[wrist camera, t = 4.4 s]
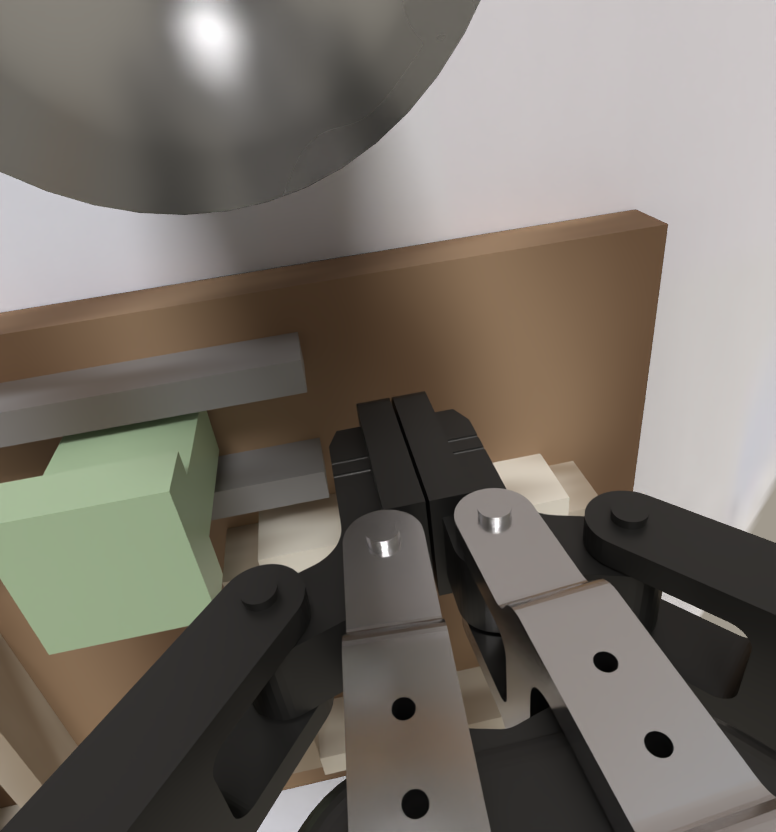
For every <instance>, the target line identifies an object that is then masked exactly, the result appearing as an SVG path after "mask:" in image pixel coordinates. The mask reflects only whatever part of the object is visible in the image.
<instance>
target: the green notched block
mask: <svg viewBox="0 0 776 832" xmlns="http://www.w3.org/2000/svg"><path fill="white" fill-rule="evenodd" d="M218 457H219V448H218V445H217V442H216V439H215V435H214V432H213V429H212V426H211V423H210V420H209V417H208V413H207V411H201V412H196V413H190V414H185V415H179V416H173V417H168V418H162V419H157V420H151V421H146V422H140V423H135V424H129V425H123V426H118V427H112V428H107V429H101V430H96V431H90V432H85V433H79V434H73V435H68V436H63V437H62V439H61V441H60V443H59V445H58V447H57V449H56V451H55V453H54V455H53V457H52V459H51V461H50V463H49V465H48V466H47V468H46V470H45V472H44V474H43V476H38V477H32V478H27V479H21V480H16V481H11V482H5V483H0V579H1V581H2V582H3V584H4V585H5V587H6V589H7V590H8V592H9V593H10V595H11V596H12V598H13V599H14V601H15V603H16V604H17V606H18V607H19V609H20V610H21V612H22V614H23V615H24V617H25V618H26V620H27V621H28V623H29V624H30V626H31V628H32V629H33V631H34V632H35V634H36V635H37V637H38V638H39V640H40V642H41V643H42V645H43V646H44V648H45V649H46V651H47V652H48V654H49V655H51V654H56V653H61V652H66V651H70V650H75V649H80V648H85V647H90V646H94V645H99V644H104V643H109V642H114V641H118V640H123V639H128V638H133V637H138V636H142V635H147V634H152V633H157V632H162V631H167V630H171V629H176V628H181V627H186V626H189V625H190V624H191V623H192V622H193V621H194V620H195V618H196V617H197V616H198V615H199V614H200V613H201V612H202V611H203V610H204V609H205V608H206V606H207V605H208V604H209V603H210V602H211V601H212V600H213V599H214V598H215V597H216V596H217V595H218V593H219V592H220V591H221V590H222V579H223V573H222V570H221V568H220V565H219V562H218V559H217V557H216V554H215V551H214V548H213V546H212V543H211V540H210V537H209V534H210V525H211V517H212V508H213V500H214V491H215V483H216V474H217V466H218Z"/></svg>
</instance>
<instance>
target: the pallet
mask: <svg viewBox="0 0 776 832" xmlns="http://www.w3.org/2000/svg"><path fill="white" fill-rule="evenodd" d="M667 228H668V224H667V223H664V222H662V221H660V220H658V219H656V218H653V217H651V216H649V215H647V214H645V213H642V212H640V211H638V210H630V211H624V212H617V213H611V214H605V215H599V216H593V217H587V218H581V219H574V220H568V221H562V222H556V223H550V224H544V225H537V226H531V227H525V228H519V229H513V230H507V231H501V232H494V233H488V234H482V235H476V236H470V237H464V238H458V239H451V240H445V241H439V242H433V243H427V244H421V245H415V246H408V247H402V248H396V249H390V250H384V251H378V252H371V253H365V254H359V255H353V256H347V257H341V258H335V259H328V260H322V261H316V262H310V263H304V264H298V265H292V266H285V267H279V268H273V269H267V270H261V271H255V272H249V273H242V274H236V275H230V276H224V277H218V278H212V279H205V280H199V281H193V282H187V283H181V284H175V285H169V286H162V287H156V288H150V289H144V290H138V291H132V292H126V293H119V294H113V295H107V296H101V297H95V298H89V299H83V300H76V301H70V302H64V303H58V304H52V305H46V306H40V307H33V308H27V309H21V310H15V311H9V312H3V313H0V483H5V482H11V481H16V480H21V479H27V478H32V477H38V476H43V474H44V472H45V470H46V468H47V466H48V465H49V463H50V461H51V459H52V457H53V455H54V453H55V451H56V449H57V447H58V445H59V443H60V441H61V439H62V437H63V436H68V435H73V434H79V433H85V432H90V431H96V430H101V429H107V428H112V427H118V426H123V425H129V424H135V423H140V422H146V421H151V420H157V419H162V418H168V417H173V416H179V415H185V414H190V413H196V412H201V411H207V413H208V417H209V420H210V423H211V426H212V429H213V432H214V435H215V439H216V442H217V445H218V448H219V457H218V466H217V474H216V483H215V491H214V500H213V508H212V517H211V525H210V534H209V537H210V540H211V543H212V546H213V548H214V551H215V554H216V557H217V559H218V562H219V565H220V568H221V570H222V573H223V579H222V589H223V588H224V587H225V586H226V585H227V584H228V583H229V582H230V581H231V580H232V579H233V578H234V577H236V576H237V575H238V574H240V573H242V572H244V571H246V570H248V569H250V568H253V567H256V566H259V565H265V564H280V565H284V566H288V567H290V568H292V569H294V570H295V571H296V572H298V573H299V572H301V571H303V570H305V569H307V568H309V567H311V566H313V565H315V564H317V563H319V562H320V561H322V560H323V559H324V558H326V557H327V556H328V555H329V554H330V553H331V552H332V551H333V549H334V548H335V547H336V545H337V544H338V542H339V539H340V536H341V522H340V516H339V509H338V503H337V496H336V490H335V483H334V477H333V471H332V464H331V458H330V451H329V445H330V443H331V441H332V439H333V437H334V435H335V433H336V431H339V430H345V429H350V428H355V427H360V426H359V420H358V414H357V407H356V404H358V403H363V402H369V401H374V400H379V399H385V398H390V401H391V398H392V397H396V396H401V395H406V394H412V393H417V392H422V391H425V392H426V394H427V396H428V398H429V401H430V403H431V405H432V407H433V409H434V412H439V411H444V410H450V409H454V410H456V411H457V412H459V413H460V414H462V415H463V416H465V417H466V418H468V419H469V420H470V422H471V424H472V426H473V427H474V429H475V431H476V433H477V436H478V437H479V439H480V441H481V442H482V444H483V446H484V449H485V450H486V452H487V454H488V455H489V457H490V459H491V461H492V463H493V465H494V467H495V468H496V470H497V472H498V474H499V476H500V478H501V480H502V481H503V483H504V485H505V487H506V489H507V490H511V491H514V492H517V493H519V494H521V495H523V496H524V497H526V498H527V499H528V500H529V501H530V502H531V503H532V504H533V506H534V507H535V509H536V510H537V512H539V513H543V514H548V515H564V516H584V515H585V509H586V506H587V505H588V503H589V502H590V501H591V500H592V499H593V498H595V497H596V496H598V495H600V494H603V493H606V492H610V491H633V487H634V479H635V471H636V464H637V456H638V449H639V441H640V433H641V426H642V418H643V411H644V403H645V395H646V388H647V380H648V373H649V365H650V357H651V350H652V342H653V335H654V327H655V319H656V312H657V304H658V297H659V289H660V281H661V274H662V266H663V259H664V251H665V243H666V236H667ZM391 404H392V403H391ZM434 582H435V581H434ZM435 586H436V584H435ZM436 591H437V596H438V601H439V605H440V610H441V615H442V619H445V622H446V625H447V629H448V634H449V638H450V643H451V647H452V652H453V657H454V661H455V666H456V671H457V675H458V680H459V685H460V689H461V694H462V699H463V703H464V708H465V713H466V717H467V722H468V727H469V728H475V729H505V726H504V723H503V720H502V717H501V714H500V712H499V709H498V707H497V705H496V702H495V700H494V698H493V695H492V693H491V691H490V689H489V686H488V684H487V682H486V679H485V677H484V675H483V672H482V670H481V668H480V666H479V663H478V661H477V659H476V656H475V654H474V652H473V650H472V647H471V645H470V643H469V640H468V638H467V636H466V633H465V631H464V628H463V624H462V616H461V614H460V612H459V610H458V607H457V604H456V601H455V598H454V595H453V593H450V594H446V595H441V596H439V593H438V590H437V587H436ZM187 627H188V626H186V627H181V628H176V629H171V630H167V631H162V632H157V633H152V634H147V635H142V636H138V637H133V638H128V639H123V640H118V641H114V642H109V643H104V644H99V645H94V646H90V647H85V648H80V649H75V650H70V651H66V652H61V653H56V654H51V655H49V654H48V652H47V651H46V649H45V648H44V646H43V645H42V643H41V642H40V640H39V638H38V637H37V635H36V634H35V632H34V631H33V629H32V628H31V626H30V624H29V623H28V621H27V620H26V618H25V617H24V615H23V614H22V612H21V610H20V609H19V607H18V606H17V604H16V603H15V601H14V599H13V598H12V596H11V595H10V593H9V592H8V590H7V589H6V587H5V585H4V584H3V582H2V581H1V579H0V831H1V830H2V828H3V827H4V826H5V825H6V824H7V823H8V822H9V821H10V820H11V819H12V818H13V817H14V815H15V814H16V813H17V812H18V811H19V810H20V809H21V808H22V807H23V806H24V805H25V803H26V802H27V801H28V800H29V799H30V798H31V797H32V796H33V795H34V794H35V793H36V791H37V790H38V789H39V788H40V787H41V786H42V785H43V784H44V783H45V782H46V781H47V780H48V778H49V777H50V776H51V775H52V774H53V773H54V772H55V771H56V770H57V769H58V768H59V766H60V765H61V764H62V763H63V762H64V761H65V760H66V759H67V758H68V757H69V756H70V754H71V753H72V752H73V751H74V750H75V749H76V748H77V747H78V746H79V745H80V744H81V743H82V741H83V740H84V739H85V738H86V737H87V736H88V735H89V734H90V733H91V732H92V731H93V729H94V728H95V727H96V726H97V725H98V724H99V723H100V722H101V721H102V720H103V719H104V717H105V716H106V715H107V714H108V713H109V712H110V711H111V710H112V709H113V708H114V707H115V706H116V704H117V703H118V702H119V701H120V700H121V699H122V698H123V697H124V696H125V695H126V694H127V692H128V691H129V690H130V689H131V688H132V687H133V686H134V685H135V684H136V683H137V682H138V680H139V679H140V678H141V677H142V676H143V675H144V674H145V673H146V672H147V671H148V670H149V669H150V667H151V666H152V665H153V664H154V663H155V662H156V661H157V660H158V659H159V658H160V657H161V655H162V654H163V653H164V652H165V651H166V650H167V649H168V648H169V647H170V646H171V645H172V643H173V642H174V641H175V640H176V639H177V638H178V637H179V636H180V635H181V634H182V633H183V632H184V630H185V629H186V628H187ZM342 776H346V751H345V723H344V696H343V692H341V693H340V694H338V695H336V696H335V697H334V701H333V706H332V709H331V712H330V714H329V716H328V717H327V719H326V721H325V722H324V724H323V725H322V727H321V729H320V730H319V732H318V734H317V735H316V737H315V738H314V740H313V742H312V743H311V745H310V746H309V748H308V750H307V751H306V753H305V754H304V756H303V758H302V759H301V761H300V762H299V764H298V766H297V767H296V769H295V770H294V772H293V774H292V775H291V777H290V779H289V780H288V782H287V783H286V785H285V787H284V788H283V790H286V789H291V788H295V787H299V786H304V785H308V784H312V783H316V782H321V781H325V780H329V779H334V778H338V777H342Z"/></svg>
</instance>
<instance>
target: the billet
mask: <svg viewBox="0 0 776 832" xmlns="http://www.w3.org/2000/svg"><path fill="white" fill-rule="evenodd" d="M479 2H480V0H0V172H2V173H4V174H7V175H9V176H12V177H14V178H16V179H19V180H21V181H24V182H26V183H28V184H31V185H33V186H36V187H38V188H40V189H43V190H45V191H48V192H51V193H55V194H58V195H61V196H65V197H68V198H72V199H75V200H79V201H82V202H85V203H89V204H92V205H97V206H103V207H108V208H114V209H120V210H126V211H132V212H138V213H155V214H177V215H188V214H199V213H211V212H223V211H230V210H234V209H238V208H243V207H247V206H252V205H256V204H261V203H265V202H269V201H271V200H274V199H277V198H279V197H282V196H285V195H287V194H290V193H293V192H295V191H298V190H301V189H303V188H306V187H308V186H310V185H312V184H313V183H315V182H317V181H319V180H321V179H323V178H324V177H326V176H328V175H330V174H332V173H334V172H336V171H337V170H339V169H341V168H343V167H344V166H345V165H347V164H348V163H350V162H351V161H352V160H354V159H355V158H356V157H358V156H359V155H361V154H362V153H363V152H365V151H366V150H367V149H369V148H370V147H371V146H373V145H374V144H376V143H377V142H378V141H379V140H380V139H381V138H382V137H383V136H384V135H385V134H386V133H387V132H388V131H389V130H390V129H391V128H392V127H394V126H395V125H396V124H397V123H398V122H399V121H400V120H401V119H402V118H403V117H404V116H405V115H406V114H407V113H408V112H409V111H410V110H411V108H412V107H413V106H414V105H415V104H416V102H417V101H418V100H419V99H420V97H421V96H422V95H423V94H424V92H425V91H426V90H427V89H428V87H429V86H430V85H431V84H432V83H433V81H434V80H435V79H436V78H437V76H438V75H439V73H440V72H441V70H442V69H443V67H444V65H445V64H446V62H447V61H448V59H449V57H450V56H451V54H452V53H453V51H454V49H455V48H456V46H457V45H458V43H459V41H460V40H461V38H462V37H463V35H464V33H465V31H466V29H467V27H468V25H469V23H470V21H471V19H472V17H473V15H474V13H475V11H476V8H477V6H478V4H479Z"/></svg>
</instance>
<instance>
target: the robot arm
mask: <svg viewBox="0 0 776 832" xmlns="http://www.w3.org/2000/svg"><path fill="white" fill-rule="evenodd" d="M391 403H392V404H391ZM356 407H357V414H358V420H359V426H360V427H355V428H350V429H345V430H339V431H336V433H335V435H334V437H333V439H332V441H331V443H330V445H329V451H330V458H331V464H332V471H333V477H334V483H335V490H336V496H337V503H338V509H339V516H340V522H341V536H340V539H339V542H338V544H337V545H336V547H335V548H334V549H333V551H332V552H331V553H330V554H329V555H328V556H327V557H326V558H324V559H323V560H322V561H320V562H319V563H317V564H315V565H313V566H311V567H309V568H307V569H305V570H303V571H301V572H299V573H298V572H296V571H295V570H294V569H292V568H290V567H288V566H284V565H280V564H265V565H259V566H256V567H253V568H250V569H248V570H246V571H244V572H242V573H240V574H238V575H237V576H236V577H234V578H233V579H232V580H231V581H230V582H229V583H228V584H227V585H226V586H225V587H224V588H223V589H222V590H221V591H220V592H219V593H218V595H217V596H216V597H215V598H214V599H213V600H212V601H211V602H210V603H209V604H208V605H207V606H206V608H205V609H204V610H203V611H202V612H201V613H200V614H199V615H198V616H197V617H196V618H195V620H194V621H193V622H192V623H191V624H190V625H189V626H188V627H187V628H186V629H185V630H184V632H183V633H182V634H181V635H180V636H179V637H178V638H177V639H176V640H175V641H174V642H173V643H172V645H171V646H170V647H169V648H168V649H167V650H166V651H165V652H164V653H163V654H162V655H161V657H160V658H159V659H158V660H157V661H156V662H155V663H154V664H153V665H152V666H151V667H150V669H149V670H148V671H147V672H146V673H145V674H144V675H143V676H142V677H141V678H140V679H139V680H138V682H137V683H136V684H135V685H134V686H133V687H132V688H131V689H130V690H129V691H128V692H127V694H126V695H125V696H124V697H123V698H122V699H121V700H120V701H119V702H118V703H117V704H116V706H115V707H114V708H113V709H112V710H111V711H110V712H109V713H108V714H107V715H106V716H105V717H104V719H103V720H102V721H101V722H100V723H99V724H98V725H97V726H96V727H95V728H94V729H93V731H92V732H91V733H90V734H89V735H88V736H87V737H86V738H85V739H84V740H83V741H82V743H81V744H80V745H79V746H78V747H77V748H76V749H75V750H74V751H73V752H72V753H71V754H70V756H69V757H68V758H67V759H66V760H65V761H64V762H63V763H62V764H61V765H60V766H59V768H58V769H57V770H56V771H55V772H54V773H53V774H52V775H51V776H50V777H49V778H48V780H47V781H46V782H45V783H44V784H43V785H42V786H41V787H40V788H39V789H38V790H37V791H36V793H35V794H34V795H33V796H32V797H31V798H30V799H29V800H28V801H27V802H26V803H25V805H24V806H23V807H22V808H21V809H20V810H19V811H18V812H17V813H16V814H15V815H14V817H13V818H12V819H11V820H10V821H9V822H8V823H7V824H6V825H5V826H4V827H3V828H2V830H1V831H0V832H257V830H258V828H259V827H260V825H261V824H262V822H263V820H264V819H265V817H266V816H267V814H268V812H269V811H270V809H271V807H272V806H273V804H274V803H275V801H276V799H277V798H278V796H279V795H280V793H281V791H282V790H283V788H284V787H285V785H286V783H287V782H288V780H289V779H290V777H291V775H292V774H293V772H294V770H295V769H296V767H297V766H298V764H299V762H300V761H301V759H302V758H303V756H304V754H305V753H306V751H307V750H308V748H309V746H310V745H311V743H312V742H313V740H314V738H315V737H316V735H317V734H318V732H319V730H320V729H321V727H322V725H323V724H324V722H325V721H326V719H327V717H328V716H329V714H330V712H331V709H332V706H333V701H334V697H335V696H336V695H338V694H340V693H341V692H343V696H344V723H345V751H346V779H345V780H344V781H342V782H341V783H340V784H338V785H337V786H336V787H335V788H334V789H333V790H332V791H331V792H330V793H328V794H327V795H326V796H325V797H324V798H323V799H322V801H321V802H320V803H319V804H318V805H317V806H316V807H315V809H314V810H313V811H312V812H311V813H310V815H309V816H308V818H307V819H306V820H305V822H304V823H303V825H302V826H301V828H300V829H299V831H298V832H776V543H774V542H771V541H769V540H766V539H764V538H761V537H758V536H756V535H753V534H750V533H747V532H745V531H742V530H739V529H737V528H734V527H731V526H729V525H726V524H723V523H721V522H718V521H715V520H712V519H710V518H707V517H704V516H702V515H699V514H696V513H694V512H691V511H688V510H686V509H683V508H680V507H678V506H675V505H672V504H669V503H667V502H664V501H661V500H659V499H656V498H653V497H651V496H648V495H645V494H642V493H638V492H633V491H610V492H606V493H603V494H600V495H598V496H596V497H595V498H593V499H592V500H591V501H590V502H589V503H588V505H587V506H586V509H585V515H584V516H564V515H548V514H543V513H539V512H537V510H536V509H535V507H534V506H533V504H532V503H531V502H530V501H529V500H528V499H527V498H526V497H524V496H523V495H521V494H519V493H517V492H514V491H511V490H507V489H506V487H505V485H504V483H503V481H502V480H501V478H500V476H499V474H498V472H497V470H496V468H495V467H494V465H493V463H492V461H491V459H490V457H489V455H488V454H487V452H486V450H485V449H484V446H483V444H482V442H481V441H480V439H479V437H478V436H477V433H476V431H475V429H474V427H473V426H472V424H471V422H470V420H469V419H468V418H466V417H465V416H463V415H462V414H460V413H459V412H457V411H456V410H454V409H450V410H444V411H439V412H434V409H433V407H432V405H431V403H430V401H429V398H428V396H427V394H426V392H425V391H422V392H417V393H412V394H406V395H401V396H396V397H392V398H391V401H390V398H385V399H379V400H374V401H369V402H363V403H358V404H356ZM434 581H435V582H434ZM435 584H436V586H435ZM436 587H437V590H438V593H439V596H441V595H446V594H450V593H453V595H454V598H455V601H456V604H457V607H458V610H459V612H460V614H461V616H462V624H463V628H464V631H465V633H466V636H467V638H468V640H469V643H470V645H471V647H472V650H473V652H474V654H475V656H476V659H477V661H478V663H479V666H480V668H481V670H482V672H483V675H484V677H485V679H486V682H487V684H488V686H489V689H490V691H491V693H492V695H493V698H494V700H495V702H496V705H497V707H498V709H499V712H500V714H501V717H502V720H503V723H504V726H505V729H475V728H469V727H468V722H467V717H466V713H465V708H464V703H463V699H462V694H461V689H460V685H459V680H458V675H457V671H456V666H455V661H454V657H453V652H452V647H451V643H450V638H449V634H448V629H447V625H446V622H445V619H442V615H441V610H440V605H439V601H438V596H437V591H436ZM662 592H665V593H667V594H669V595H671V596H673V597H675V598H678V599H680V600H682V601H684V602H686V603H688V604H691V605H693V606H695V607H697V608H699V609H702V610H704V611H706V612H708V613H710V614H713V615H715V616H717V617H719V618H721V619H723V620H725V621H728V622H730V623H732V624H733V625H735V626H736V627H738V628H739V629H740V630H742V631H743V632H744V633H745V634H746V636H747V637H748V638H745V637H742V636H739V635H737V634H735V633H733V632H731V631H729V630H726V629H724V628H722V627H720V626H718V625H716V624H714V623H711V622H709V621H707V620H705V619H702V618H701V617H699V616H697V615H694V614H692V613H690V612H688V611H686V610H684V609H682V608H679V607H677V606H675V605H673V604H671V603H669V602H667V601H665V600H662V599H661V596H662Z"/></svg>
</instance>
